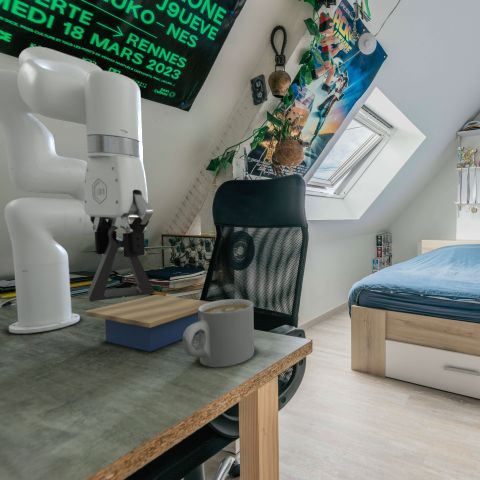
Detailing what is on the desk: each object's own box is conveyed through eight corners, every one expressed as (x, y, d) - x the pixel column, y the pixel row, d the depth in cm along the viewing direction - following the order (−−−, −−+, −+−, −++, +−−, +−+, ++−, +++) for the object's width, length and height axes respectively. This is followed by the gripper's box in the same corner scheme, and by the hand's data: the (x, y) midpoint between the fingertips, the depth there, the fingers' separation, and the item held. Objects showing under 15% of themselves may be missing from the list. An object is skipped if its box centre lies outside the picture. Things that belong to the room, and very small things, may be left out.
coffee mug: (239, 341, 70) (238, 296, 69) (263, 355, 63) (262, 305, 63) (172, 361, 60) (170, 309, 60) (191, 379, 54) (189, 321, 53)
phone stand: (89, 301, 52) (85, 227, 51) (88, 294, 56) (84, 225, 55) (154, 293, 57) (152, 226, 57) (149, 287, 62) (147, 225, 61)
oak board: (85, 315, 69) (85, 311, 69) (156, 298, 83) (156, 294, 83) (149, 328, 61) (149, 322, 61) (215, 306, 76) (215, 302, 76)
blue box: (106, 341, 70) (104, 314, 69) (158, 324, 81) (157, 301, 80) (150, 351, 65) (149, 322, 64) (199, 332, 76) (199, 307, 75)
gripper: (59, 149, 55) (65, 253, 56) (126, 143, 48) (130, 261, 50) (108, 157, 61) (112, 249, 63) (172, 152, 55) (174, 255, 56)
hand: (120, 253), depth 56 cm, fingers closed on phone stand, 6 cm apart
